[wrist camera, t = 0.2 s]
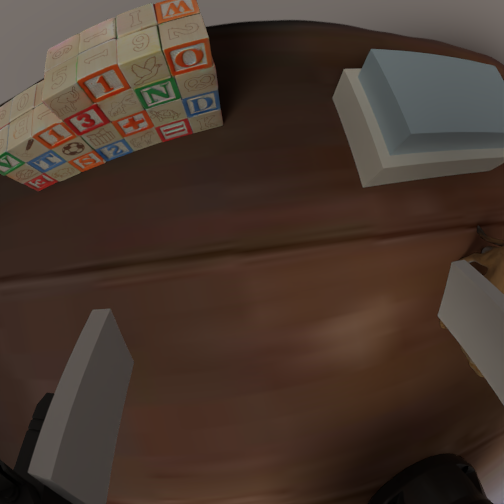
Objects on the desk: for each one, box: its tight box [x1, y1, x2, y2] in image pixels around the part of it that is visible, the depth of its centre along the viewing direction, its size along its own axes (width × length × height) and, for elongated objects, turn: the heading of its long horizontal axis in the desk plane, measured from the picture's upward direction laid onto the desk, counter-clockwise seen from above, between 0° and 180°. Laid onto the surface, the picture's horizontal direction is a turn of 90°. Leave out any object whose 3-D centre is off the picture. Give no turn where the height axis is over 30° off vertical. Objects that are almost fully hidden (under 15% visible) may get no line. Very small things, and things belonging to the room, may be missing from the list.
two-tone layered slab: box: [332, 49, 504, 188], centre depth 23 cm, size 10×18×9 cm, turn 102°
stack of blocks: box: [0, 0, 223, 191], centre depth 22 cm, size 21×6×12 cm, turn 106°
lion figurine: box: [440, 226, 504, 378], centre depth 21 cm, size 15×5×9 cm, turn 163°
